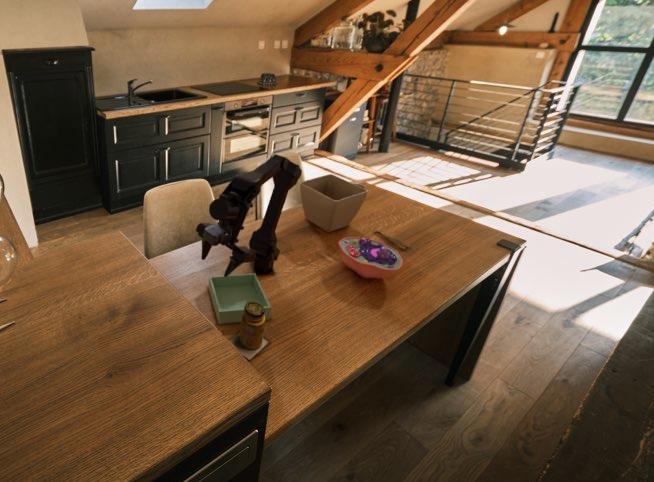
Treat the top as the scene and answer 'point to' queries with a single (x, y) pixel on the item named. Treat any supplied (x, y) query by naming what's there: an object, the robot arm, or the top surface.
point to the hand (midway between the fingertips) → (213, 268)
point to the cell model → (369, 257)
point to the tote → (236, 296)
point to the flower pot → (331, 201)
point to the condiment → (251, 330)
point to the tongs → (394, 240)
